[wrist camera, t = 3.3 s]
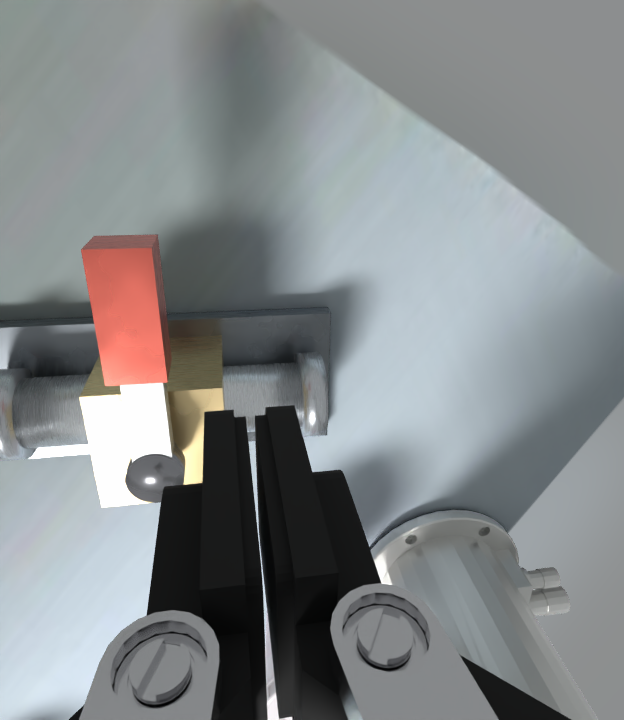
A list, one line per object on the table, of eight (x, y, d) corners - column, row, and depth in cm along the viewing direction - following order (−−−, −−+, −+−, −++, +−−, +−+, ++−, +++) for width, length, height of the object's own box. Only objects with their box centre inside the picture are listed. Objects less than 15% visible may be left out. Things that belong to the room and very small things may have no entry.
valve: (327, 307, 30) (360, 367, 23) (324, 426, 33) (351, 510, 27) (-15, 321, 27) (-94, 395, 20) (20, 449, 31) (-37, 549, 24)
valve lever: (187, 482, 24) (185, 512, 22) (133, 486, 24) (126, 518, 22) (160, 234, 19) (154, 248, 17) (91, 236, 19) (77, 249, 17)
